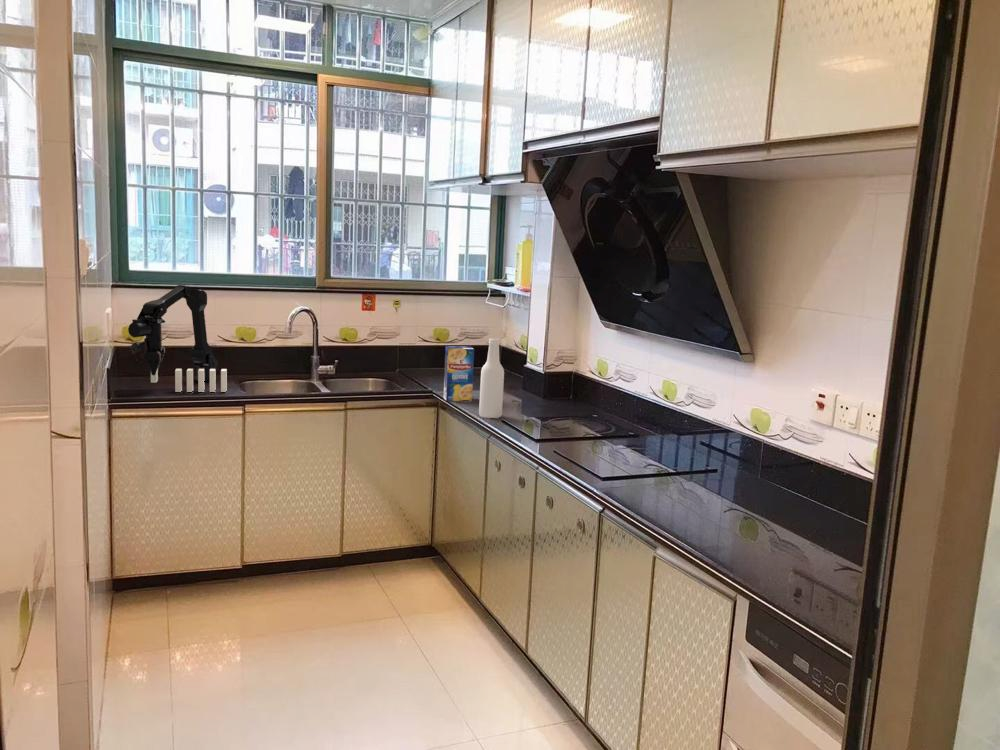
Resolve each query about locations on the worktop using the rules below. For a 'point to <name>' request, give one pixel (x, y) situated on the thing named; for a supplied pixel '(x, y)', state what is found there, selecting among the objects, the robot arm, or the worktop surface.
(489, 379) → the alcohol
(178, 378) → the domino
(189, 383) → the domino
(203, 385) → the domino
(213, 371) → the domino
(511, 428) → the worktop surface
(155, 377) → the domino
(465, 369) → the blue food box
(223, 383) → the domino
